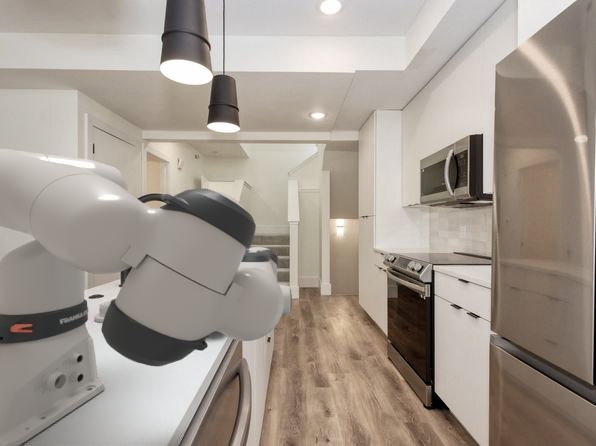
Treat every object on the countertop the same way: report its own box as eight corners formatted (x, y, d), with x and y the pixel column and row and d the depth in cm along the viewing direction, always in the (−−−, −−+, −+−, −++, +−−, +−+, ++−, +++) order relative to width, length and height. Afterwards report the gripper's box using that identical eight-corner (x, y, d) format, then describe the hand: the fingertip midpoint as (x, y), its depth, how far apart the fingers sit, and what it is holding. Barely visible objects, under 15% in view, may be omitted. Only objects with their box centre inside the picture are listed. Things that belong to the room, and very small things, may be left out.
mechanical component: (86, 323, 89) (122, 323, 88) (86, 308, 89) (121, 307, 88) (108, 313, 99) (140, 313, 98) (108, 299, 98) (140, 298, 98)
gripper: (221, 325, 75) (162, 325, 75) (238, 302, 96) (191, 302, 96) (221, 298, 75) (162, 298, 75) (237, 281, 96) (191, 281, 96)
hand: (178, 300), depth 86 cm, fingers open, 6 cm apart
